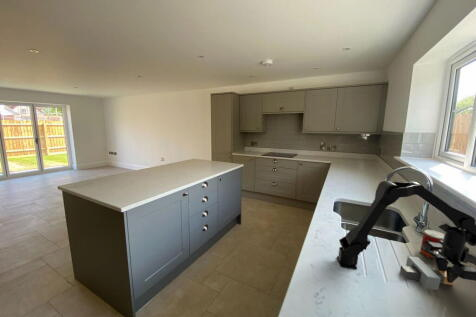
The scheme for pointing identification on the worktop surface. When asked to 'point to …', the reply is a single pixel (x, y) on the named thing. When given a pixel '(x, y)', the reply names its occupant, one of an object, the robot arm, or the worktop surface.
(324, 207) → the worktop surface
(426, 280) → the housing
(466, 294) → the worktop surface
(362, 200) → the worktop surface
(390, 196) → the robot arm
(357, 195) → the worktop surface
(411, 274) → the plug
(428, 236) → the canned food
